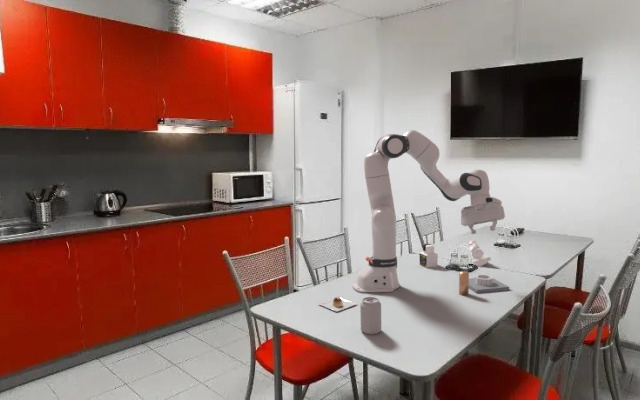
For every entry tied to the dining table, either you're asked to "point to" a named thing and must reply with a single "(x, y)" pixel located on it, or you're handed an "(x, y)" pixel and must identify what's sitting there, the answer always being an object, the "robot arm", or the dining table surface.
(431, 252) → the medicine bottle
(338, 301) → the dessert
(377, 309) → the can
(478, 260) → the soft serve ice cream
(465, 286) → the copper tube
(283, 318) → the dining table surface
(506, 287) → the collar plate
